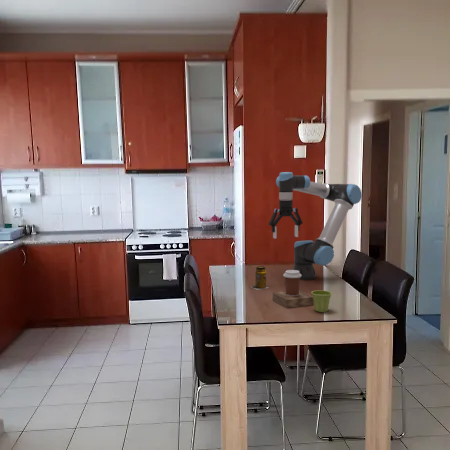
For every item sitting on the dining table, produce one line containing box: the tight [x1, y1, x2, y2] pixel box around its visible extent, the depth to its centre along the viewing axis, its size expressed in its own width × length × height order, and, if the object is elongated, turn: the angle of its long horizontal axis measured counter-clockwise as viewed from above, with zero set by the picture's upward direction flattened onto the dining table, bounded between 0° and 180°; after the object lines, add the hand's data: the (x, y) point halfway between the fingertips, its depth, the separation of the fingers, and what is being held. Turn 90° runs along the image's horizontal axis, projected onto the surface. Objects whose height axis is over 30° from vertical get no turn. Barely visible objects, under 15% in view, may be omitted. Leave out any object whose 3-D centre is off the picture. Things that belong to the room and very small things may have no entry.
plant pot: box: [311, 289, 332, 313], centre depth 216 cm, size 9×9×9 cm
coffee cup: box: [282, 269, 302, 296], centre depth 230 cm, size 9×9×12 cm
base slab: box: [272, 289, 314, 309], centre depth 230 cm, size 15×15×4 cm
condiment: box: [250, 265, 270, 291], centre depth 261 cm, size 7×8×12 cm
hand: (285, 237), depth 258 cm, fingers open, 13 cm apart
